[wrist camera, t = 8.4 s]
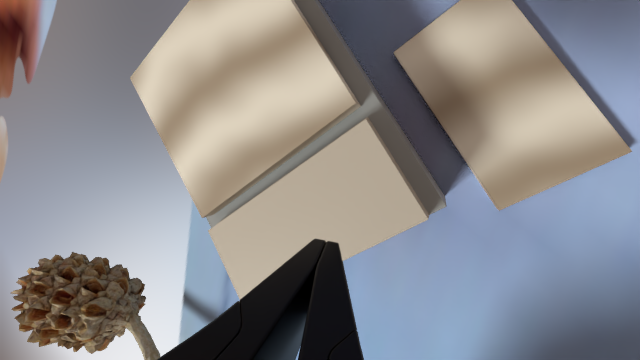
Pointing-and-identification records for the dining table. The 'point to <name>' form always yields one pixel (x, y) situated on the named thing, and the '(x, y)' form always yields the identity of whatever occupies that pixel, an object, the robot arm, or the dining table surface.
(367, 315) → the dining table surface
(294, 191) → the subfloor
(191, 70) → the board
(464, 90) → the plank
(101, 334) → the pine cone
